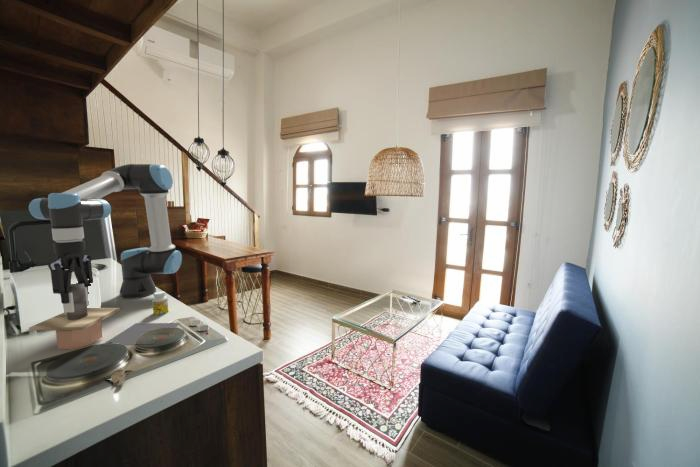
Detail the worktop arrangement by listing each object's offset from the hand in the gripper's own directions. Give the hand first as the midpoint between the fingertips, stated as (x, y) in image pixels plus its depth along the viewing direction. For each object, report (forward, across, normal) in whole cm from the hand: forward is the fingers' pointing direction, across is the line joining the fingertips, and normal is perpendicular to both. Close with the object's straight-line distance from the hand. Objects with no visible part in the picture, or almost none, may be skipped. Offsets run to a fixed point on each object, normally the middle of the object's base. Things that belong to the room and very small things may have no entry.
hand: (76, 308), depth 100 cm
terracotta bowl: (+12, 0, 0) cm, 12 cm away
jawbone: (+13, +16, +32) cm, 38 cm away
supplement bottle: (+12, -24, +13) cm, 30 cm away
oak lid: (+4, 0, 0) cm, 4 cm away
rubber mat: (+12, -5, +18) cm, 22 cm away
